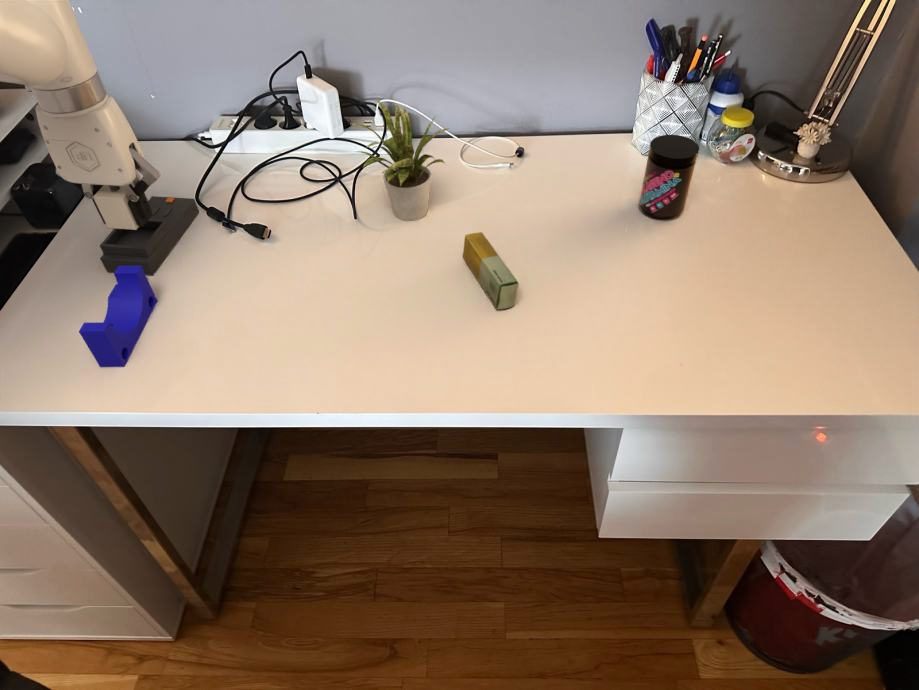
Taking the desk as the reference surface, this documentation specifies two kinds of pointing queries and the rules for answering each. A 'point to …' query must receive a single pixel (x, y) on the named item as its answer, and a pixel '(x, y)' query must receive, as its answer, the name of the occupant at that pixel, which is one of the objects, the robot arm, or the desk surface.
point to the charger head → (115, 207)
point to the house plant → (404, 167)
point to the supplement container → (668, 176)
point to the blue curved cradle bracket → (121, 318)
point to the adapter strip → (150, 236)
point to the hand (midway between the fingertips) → (128, 218)
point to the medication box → (490, 271)
